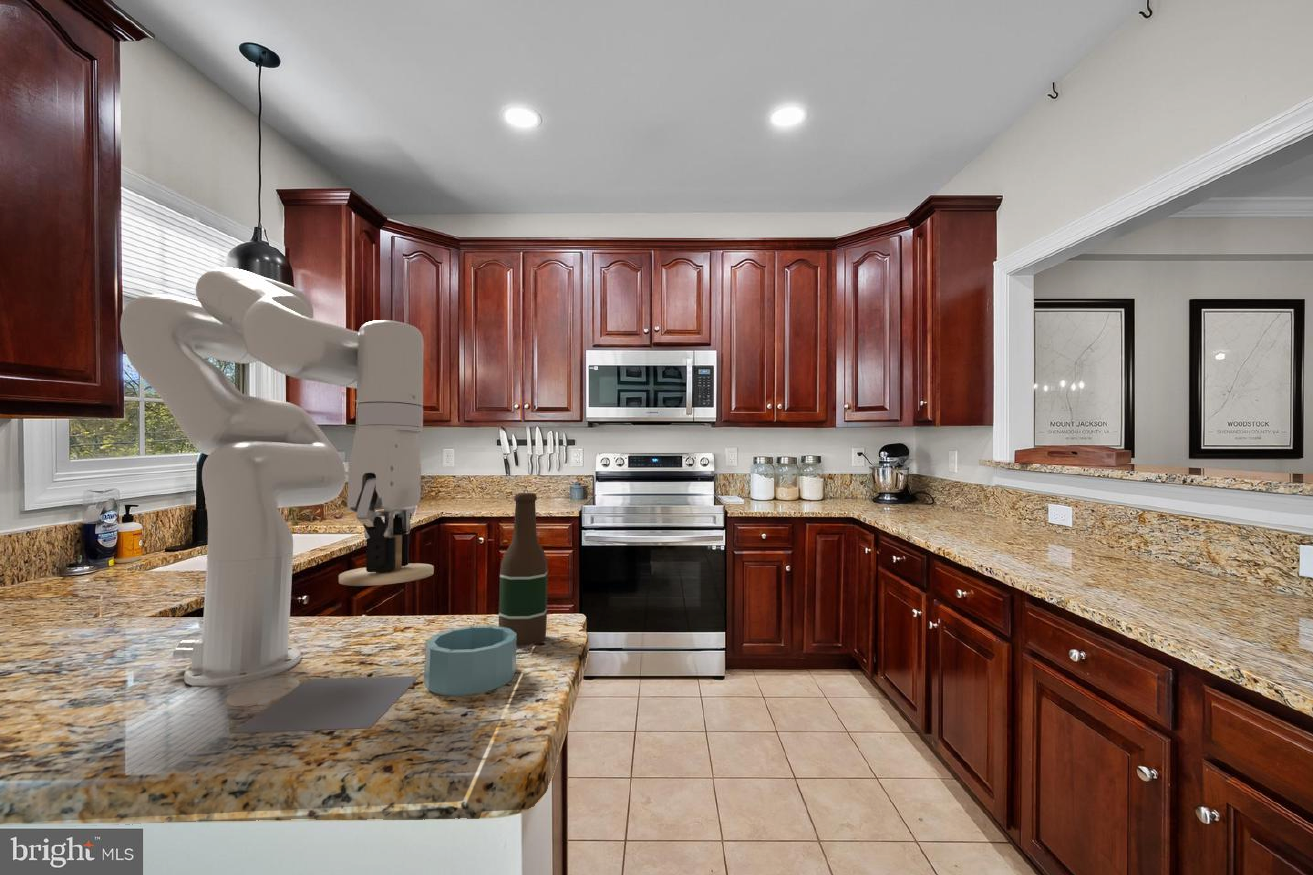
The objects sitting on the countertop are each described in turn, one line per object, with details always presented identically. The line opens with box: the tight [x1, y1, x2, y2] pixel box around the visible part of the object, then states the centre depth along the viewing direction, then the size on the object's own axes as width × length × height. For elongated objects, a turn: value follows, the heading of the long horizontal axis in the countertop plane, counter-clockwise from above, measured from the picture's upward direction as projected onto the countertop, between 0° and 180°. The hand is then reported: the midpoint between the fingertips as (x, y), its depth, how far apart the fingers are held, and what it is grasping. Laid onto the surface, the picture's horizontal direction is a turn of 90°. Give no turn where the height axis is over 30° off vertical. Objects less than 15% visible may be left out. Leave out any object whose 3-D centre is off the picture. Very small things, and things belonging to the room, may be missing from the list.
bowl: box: [423, 625, 517, 697], centre depth 69 cm, size 11×11×6 cm
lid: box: [338, 535, 435, 587], centre depth 64 cm, size 10×10×5 cm
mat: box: [229, 675, 420, 734], centre depth 61 cm, size 14×14×1 cm
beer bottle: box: [498, 492, 549, 647], centre depth 86 cm, size 8×8×24 cm
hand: (388, 567), depth 64 cm, fingers closed on lid, 3 cm apart
